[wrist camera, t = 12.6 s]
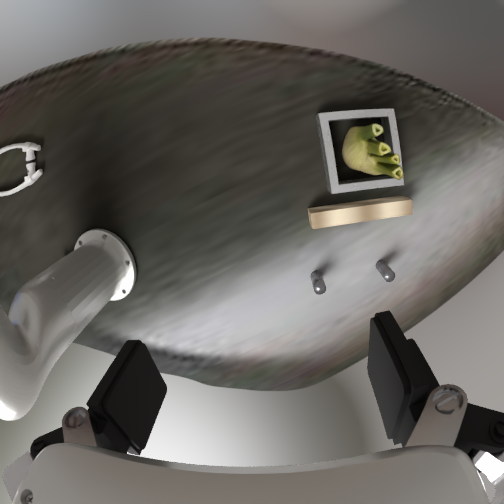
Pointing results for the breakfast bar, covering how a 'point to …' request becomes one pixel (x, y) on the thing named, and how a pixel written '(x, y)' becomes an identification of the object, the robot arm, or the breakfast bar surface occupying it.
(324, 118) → the frame
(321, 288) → the pegs
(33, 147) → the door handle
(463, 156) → the breakfast bar surface
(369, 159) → the fennel bulb
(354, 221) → the door edge rail
